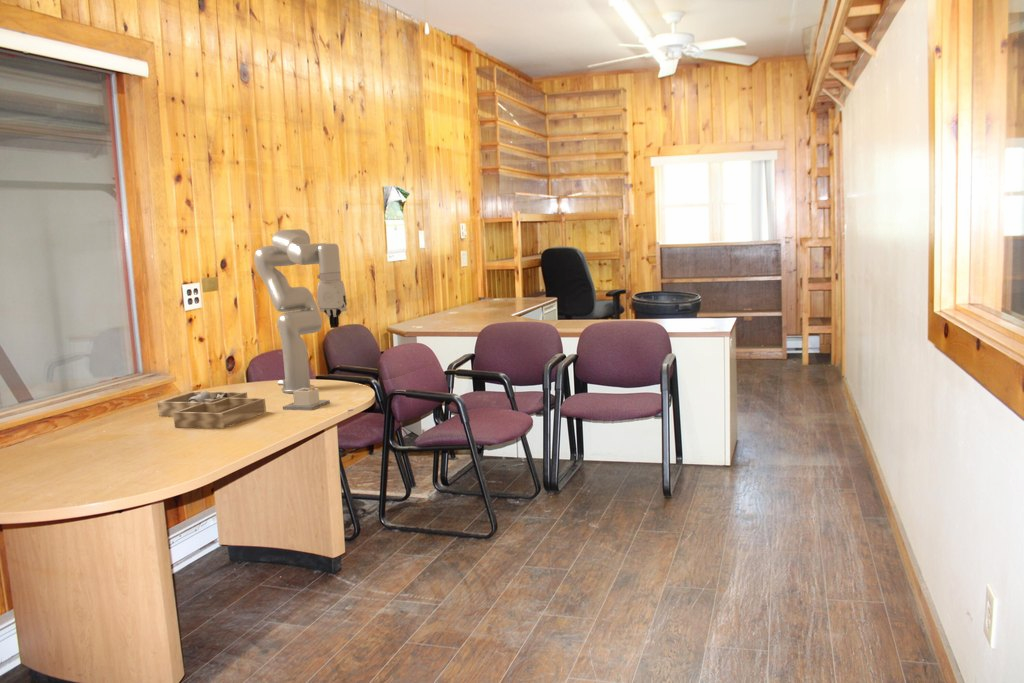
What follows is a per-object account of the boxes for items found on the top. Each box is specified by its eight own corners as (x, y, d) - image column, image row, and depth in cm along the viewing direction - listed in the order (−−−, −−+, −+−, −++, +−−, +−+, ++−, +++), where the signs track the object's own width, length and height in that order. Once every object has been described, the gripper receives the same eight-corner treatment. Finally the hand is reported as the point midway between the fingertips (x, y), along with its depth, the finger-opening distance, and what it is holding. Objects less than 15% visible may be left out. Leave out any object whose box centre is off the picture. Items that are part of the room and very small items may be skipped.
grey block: (304, 401, 305) (302, 385, 304) (320, 401, 303) (318, 385, 302) (294, 405, 299) (292, 389, 298) (310, 405, 297) (308, 389, 296)
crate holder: (158, 415, 298) (157, 402, 297) (194, 404, 315) (193, 391, 315) (214, 417, 290) (213, 403, 289) (248, 405, 308) (246, 392, 307)
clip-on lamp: (206, 423, 294) (231, 401, 311) (204, 407, 292) (229, 386, 308) (175, 420, 296) (201, 399, 312) (173, 404, 293) (199, 383, 310)
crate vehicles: (174, 427, 278) (173, 412, 277) (221, 411, 300) (220, 397, 300) (222, 428, 272) (220, 413, 271) (266, 412, 294) (264, 398, 293)
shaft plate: (282, 409, 298) (281, 394, 297) (301, 402, 309) (300, 387, 308) (311, 410, 294) (310, 394, 293) (329, 402, 305) (328, 388, 304)
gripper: (307, 279, 303) (311, 329, 305) (343, 277, 298) (347, 328, 301) (318, 277, 310) (322, 326, 312) (353, 276, 305) (357, 325, 308)
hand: (334, 327), depth 306 cm, fingers closed
